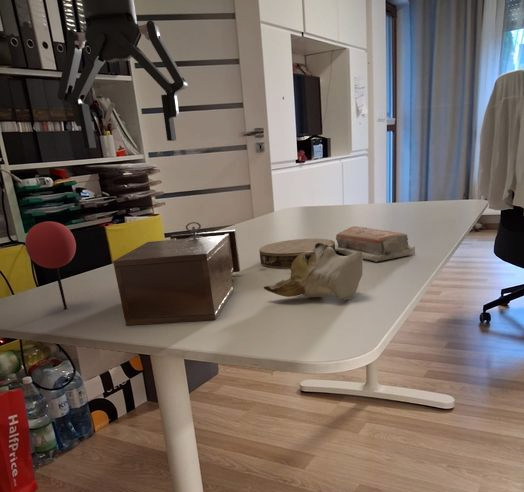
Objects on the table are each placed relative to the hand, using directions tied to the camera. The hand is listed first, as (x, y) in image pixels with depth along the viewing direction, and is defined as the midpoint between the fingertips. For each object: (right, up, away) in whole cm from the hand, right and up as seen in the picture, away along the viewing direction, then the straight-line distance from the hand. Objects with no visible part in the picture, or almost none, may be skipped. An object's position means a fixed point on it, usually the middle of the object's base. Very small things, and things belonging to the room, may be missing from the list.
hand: (131, 144), depth 84 cm
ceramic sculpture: (+30, -25, -2) cm, 39 cm away
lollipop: (-13, -26, +8) cm, 30 cm away
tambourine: (+29, -14, +27) cm, 42 cm away
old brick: (+44, -13, +26) cm, 52 cm away
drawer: (+10, -20, +15) cm, 26 cm away
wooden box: (+8, -26, +1) cm, 28 cm away
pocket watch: (+10, -20, +12) cm, 25 cm away
